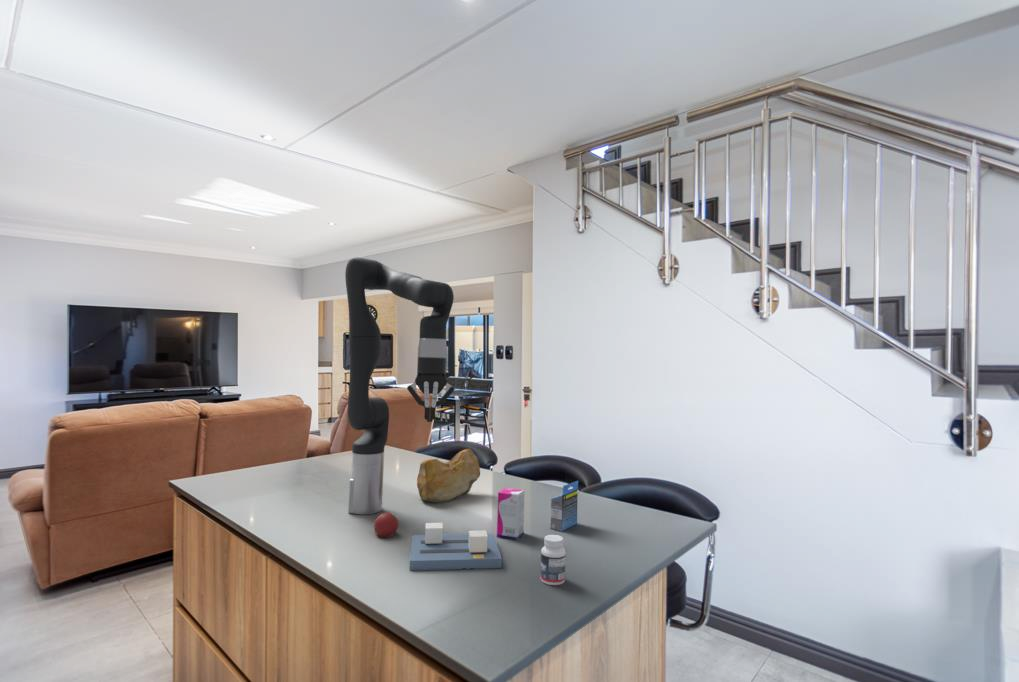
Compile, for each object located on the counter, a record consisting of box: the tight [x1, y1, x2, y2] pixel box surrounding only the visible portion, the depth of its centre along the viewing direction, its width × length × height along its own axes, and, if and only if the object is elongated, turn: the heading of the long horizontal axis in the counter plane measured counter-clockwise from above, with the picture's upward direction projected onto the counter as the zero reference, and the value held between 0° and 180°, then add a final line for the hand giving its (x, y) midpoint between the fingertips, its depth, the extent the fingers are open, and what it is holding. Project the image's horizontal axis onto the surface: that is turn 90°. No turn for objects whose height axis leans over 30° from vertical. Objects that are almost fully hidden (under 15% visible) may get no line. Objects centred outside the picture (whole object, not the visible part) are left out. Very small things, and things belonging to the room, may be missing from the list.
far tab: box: [424, 522, 444, 544], centre depth 123 cm, size 4×4×4 cm
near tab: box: [468, 529, 488, 552], centre depth 118 cm, size 4×4×4 cm
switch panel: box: [409, 533, 503, 571], centre depth 120 cm, size 20×16×2 cm
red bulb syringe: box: [371, 512, 399, 538], centre depth 132 cm, size 6×6×8 cm
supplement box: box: [496, 487, 526, 540], centre depth 135 cm, size 6×6×12 cm
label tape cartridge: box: [550, 480, 579, 532], centre depth 143 cm, size 9×4×12 cm, turn 145°
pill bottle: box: [539, 534, 567, 586], centre depth 108 cm, size 5×5×9 cm
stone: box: [416, 448, 481, 503], centre depth 172 cm, size 23×17×15 cm
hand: (429, 421), depth 136 cm, fingers closed
